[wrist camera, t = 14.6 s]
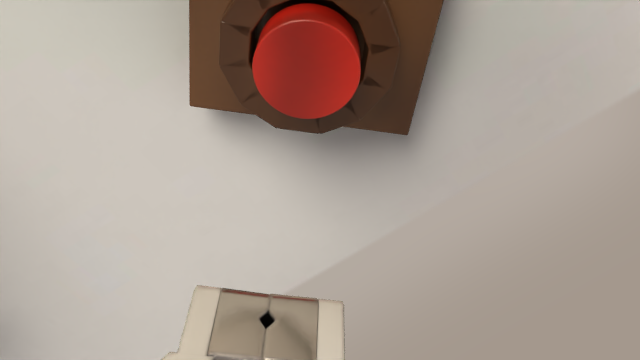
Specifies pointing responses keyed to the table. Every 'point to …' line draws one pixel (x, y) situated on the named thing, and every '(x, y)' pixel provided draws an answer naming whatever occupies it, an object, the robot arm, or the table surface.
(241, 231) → the table surface
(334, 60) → the button
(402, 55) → the button block
